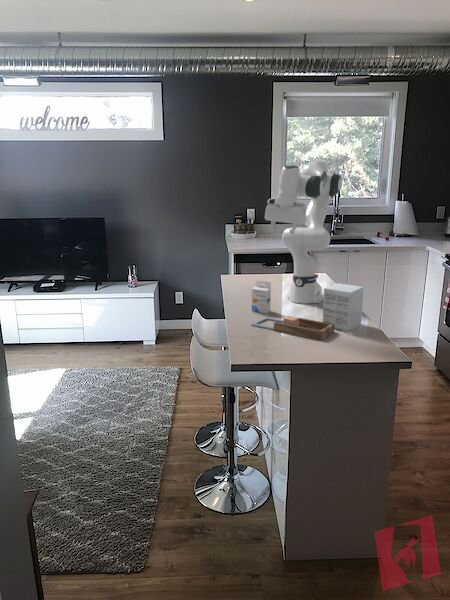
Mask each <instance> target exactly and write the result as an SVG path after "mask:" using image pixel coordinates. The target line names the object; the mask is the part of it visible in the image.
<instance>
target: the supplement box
mask: <svg viewBox="0 0 450 600" xmlns="http://www.w3.org/2000/svg"><path fill="white" fill-rule="evenodd" d="M323 294H324V299H323V301H322V303H323V305H322V322H325V323H330V324H335V325H334V329H337V330H343V331H347V332H349V331H351V330H352V329H355V328H356V327H358V326H359V325H361V324H362V317H363V316H362V315H363V300H364V286H360V285H351V284H344V283H339V282H337V283H334V284H331V285H329V286H327V287H324V288H323Z"/></svg>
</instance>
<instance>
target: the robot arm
mask: <svg viewBox="0 0 450 600" xmlns="http://www.w3.org/2000/svg"><path fill="white" fill-rule="evenodd" d="M328 171H329V169H328V164H327V163H326V162H325V161H323V160H318V159H317V160H314V161H313V160H312V161H311V162H308V163H307V164H305V165H304V166H303V168H302V169H301V172H300V167H299V166H298V165H294V164H293V165H292V164H291V165H284V166H283V167H282V169H281V172H280V176H279V181H278V187H279V188H278V191H277V192H278V193H277V196H276V197H273V198H269V199H267V205H266V207H265V213H264V219H265V221H270V225H271V228H272V229H271V230H272V232H277V231H278V227H277V226H276V223H277V222H278V223H287V224H292V227H289V228H288V227H287V228H285V230H284V231H283V232H282V235H281V241H282V243H283V245H284V246H285V247H286V248H287V249H288V251H290V254H291V256H292V259H293V274H292V281H293V282H291V284H290V290H289V295H288V296H287V299H289V301H290V302H292V303H297V304H320V303H321V302H323V301H324V293H323V288H322V286H321V285H320V283H318V282H317V279H318V278H319V274H318V273H317V274H316V261H315V258H314V257H313V256H311V255H309V253H308V252H307V250H315V251H317V250H319V251H320V250H325V249H327V248H328V247H329V245H330V242H331V235H330V233H329V231H328V229H327V230H326V228H325V227H324V222H325V220H326V219H325V218H326V216H327V213H328V210H329V206H330V198H335V196H336V195H338V193H340V191H341V190H342V187H343V179H342V178H343V177H342V176H341V175H340V174H337V173H330V172H328ZM298 197H302V198H303V197H304V198H311V199H310V201H309V202H308V204H307V205H306V204H305V203H299V202H297V201H298ZM298 225H305V226H306V227H299V226H298Z"/></svg>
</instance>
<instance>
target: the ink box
mask: <svg viewBox="0 0 450 600" xmlns="http://www.w3.org/2000/svg"><path fill="white" fill-rule="evenodd" d="M271 288H272V287H271V281H263V280H262V281H261V280H256V281H255V286H254V287H252V288H251V312H257V313H263V314H267V313H269V312H270V311H271V304H272V302H271V298H272V297H271V293H272V291H271V290H272V289H271Z"/></svg>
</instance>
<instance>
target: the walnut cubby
mask: <svg viewBox="0 0 450 600" xmlns="http://www.w3.org/2000/svg"><path fill="white" fill-rule="evenodd" d="M288 316H289V315H287V316H286V317H288ZM298 318H299V326H294V325H289V324H284V323H280V322H275V321H274V323H273V327H274V330H273V331H275V332H280V333H285V334H289V335H294V336H297V337H298V336H299V337H303V338H309V339H313V340H316V341H317V340H318V341H322V340H323V339H326V338H327V337H328V336H331V335H332V334H333V333H335V328H334V325H335V324H330V323H325V322H323V321H319V320H313V319H308V318H301V317H298Z"/></svg>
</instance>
